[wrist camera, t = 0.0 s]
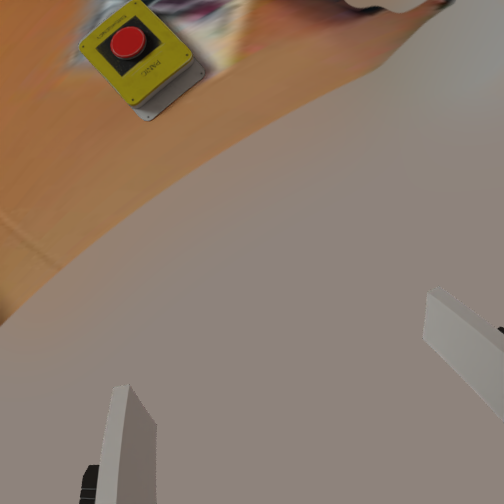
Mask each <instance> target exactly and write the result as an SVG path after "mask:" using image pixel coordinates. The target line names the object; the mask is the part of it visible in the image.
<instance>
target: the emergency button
mask: <svg viewBox="0 0 504 504" xmlns="http://www.w3.org/2000/svg"><path fill="white" fill-rule="evenodd" d="M78 48H79V51H80V52H81V53H82V54H83V55H84V56H85V57H86V58H87V59H88V60H89V62H90V63H91V64H92V65H93V66H94V67H95V68H96V69H97V70H98V71H99V73H100V74H101V75H102V76H103V77H104V78H105V79H106V80H107V81H108V83H109V84H110V85H111V86H112V87H113V88H114V89H115V90H116V91H117V92H118V94H119V95H120V96H121V97H122V98H123V99H124V100H125V101H126V102H127V104H128V105H129V106H130V107H131V108H132V109H133V110H134V111H135V112H136V114H137V115H138V116H139V117H140V118H141V119H143V120H144V121H150V120H152V119H153V118H155V117H156V116H157V115H158V114H159V113H160V112H161V111H163V110H164V109H165V108H166V107H167V106H168V105H170V104H171V103H172V102H173V101H174V100H176V99H177V98H178V97H179V96H181V95H182V94H183V93H184V92H185V91H187V90H188V89H189V88H191V87H192V86H193V85H194V84H196V83H197V82H198V81H200V80H201V79H202V78H203V77H204V75H205V70H204V68H203V67H202V65H201V64H200V63H199V62H198V61H197V60H196V59H195V58H194V57H193V54H192V52H191V51H190V50H189V48H188V47H187V46H186V45H185V44H184V43H183V42H182V41H181V40H180V39H179V38H178V37H177V36H176V35H175V34H174V33H173V32H172V31H171V30H170V29H169V28H168V27H167V26H166V25H165V24H164V23H163V22H162V21H161V20H160V19H159V18H158V17H157V16H156V15H155V14H154V13H153V12H152V11H151V10H150V9H149V8H148V7H147V6H146V5H145V4H144V3H143V2H142V1H141V0H130V1H128V2H126V3H125V4H124V5H122V6H121V7H120V8H118V9H117V10H116V11H115V12H113V13H112V14H111V15H110V16H108V17H107V18H106V19H105V20H103V21H102V22H101V23H100V24H99V25H97V26H96V27H95V28H94V29H93V30H92V31H90V32H89V33H88V34H87V35H86V36H85V37H84V38H83V39H82V40H81V41H80V42H79V43H78Z"/></svg>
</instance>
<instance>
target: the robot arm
mask: <svg viewBox="0 0 504 504" xmlns="http://www.w3.org/2000/svg"><path fill="white" fill-rule="evenodd" d="M423 340H424V341H425V342H427V344H428V345H430V346H431V347H432V348H433V349H434V350H435V351H436V352H437V353H438V354H439V355H440V356H441V357H442V358H443V359H444V360H445V361H446V362H447V363H448V364H449V365H450V366H451V367H452V368H453V369H454V370H455V372H456V373H457V374H458V375H460V377H462V379H463V380H464V381H465V382H466V383H467V384H468V385H469V386H470V387H471V388H472V389H473V390H474V391H475V392H476V393H477V394H478V396H479V397H480V398H481V399H482V400H483V401H484V402H485V403H486V404H487V405H488V406H489V407H490V408H491V409H492V410H493V412H494V413H495V414H496V415H497V416H498V417H499V418H500V419H501V420H502V422H503V423H504V328H503V327H499V328H498V329H496V328H495V327H494V326H493V325H491V324H490V323H489V322H487V321H486V320H485V319H483V318H482V317H481V316H480V315H478V314H477V313H476V312H474V311H473V310H472V309H470V308H469V307H468V306H466V305H465V304H463V303H462V302H461V301H459V300H458V299H457V298H455V297H454V296H452V295H451V294H450V293H448V292H447V291H446V290H444V289H443V288H441V287H440V286H439V287H437V288H434V289H432V290H430V291H428V293H427V303H426V313H425V322H424V331H423ZM156 430H157V424H156V423H155V422H154V420H153V419H152V417H151V416H150V414H149V413H148V412H147V410H146V409H145V407H144V406H143V404H142V403H141V401H140V400H139V398H138V397H137V395H136V394H135V392H134V391H133V389H132V388H131V386H130V385H124V386H118V387H113V392H112V397H111V401H110V406H109V411H108V417H107V422H106V428H105V434H104V439H103V446H102V452H101V459H100V465H89V466H88V468H87V470H86V472H85V474H84V475H83V480H82V487H81V488H82V490H81V494H80V498H81V500H80V502H79V504H156V432H157V431H156Z"/></svg>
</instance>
